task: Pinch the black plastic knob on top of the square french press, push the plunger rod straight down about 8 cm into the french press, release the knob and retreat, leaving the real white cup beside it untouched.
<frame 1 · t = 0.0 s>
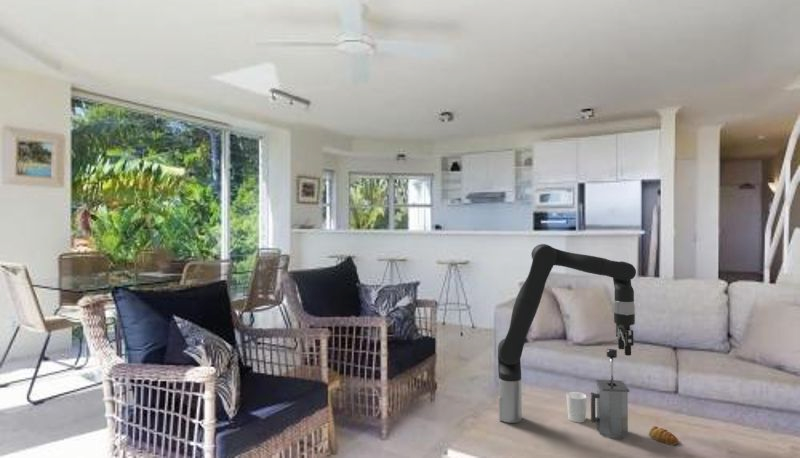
hand: (624, 352, 188), 29 cm above the table, fingers open, 8 cm apart
plunger: (611, 369, 181), point 25 cm above the table, slide at 0.0 cm
square french press: (612, 432, 182), on the table
white cup: (576, 419, 194), on the table
pastry: (662, 440, 176), on the table
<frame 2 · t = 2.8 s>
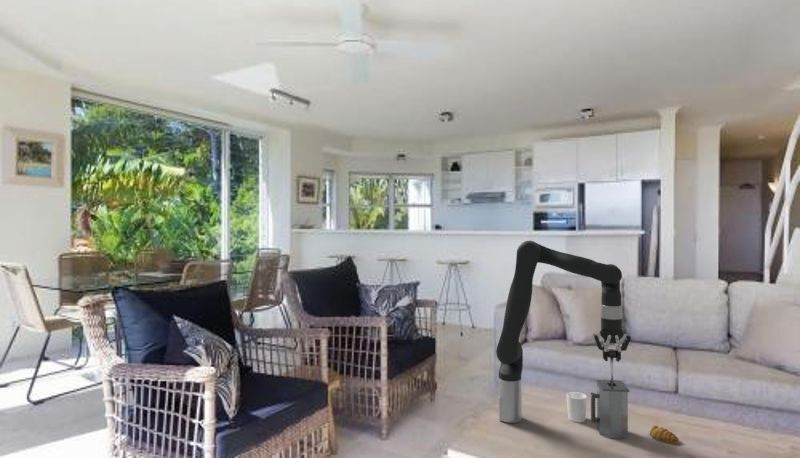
hand: (611, 360, 181), 28 cm above the table, fingers closed on plunger, 3 cm apart
plunger: (611, 370, 181), point 25 cm above the table, slide at 0.0 cm, touching gripper
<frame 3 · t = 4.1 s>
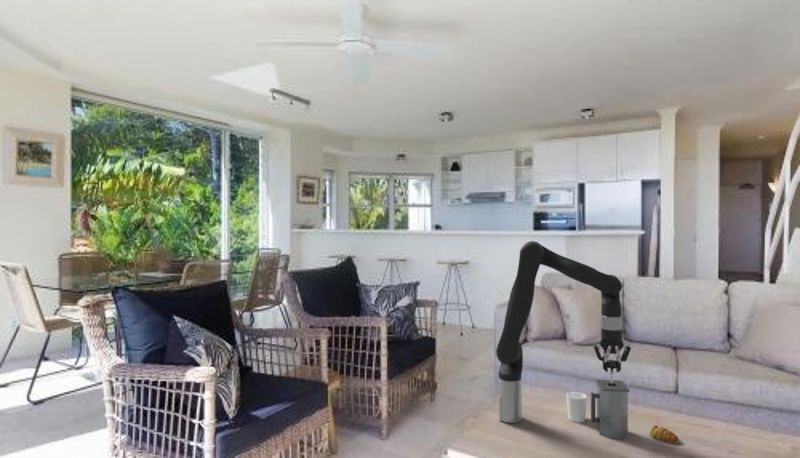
hand: (611, 371, 181), 24 cm above the table, fingers closed on plunger, 3 cm apart
plunger: (611, 380, 181), point 20 cm above the table, slide at 4.2 cm, touching gripper
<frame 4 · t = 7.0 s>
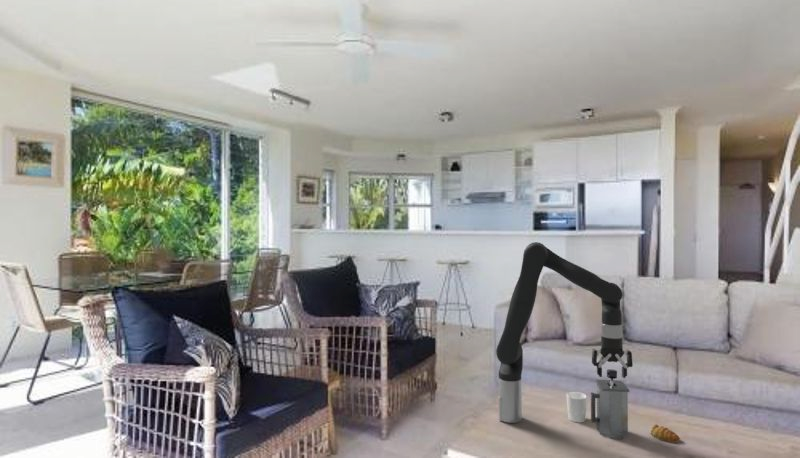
hand: (611, 376, 181), 22 cm above the table, fingers open, 8 cm apart
plunger: (612, 390, 181), point 17 cm above the table, slide at 8.0 cm
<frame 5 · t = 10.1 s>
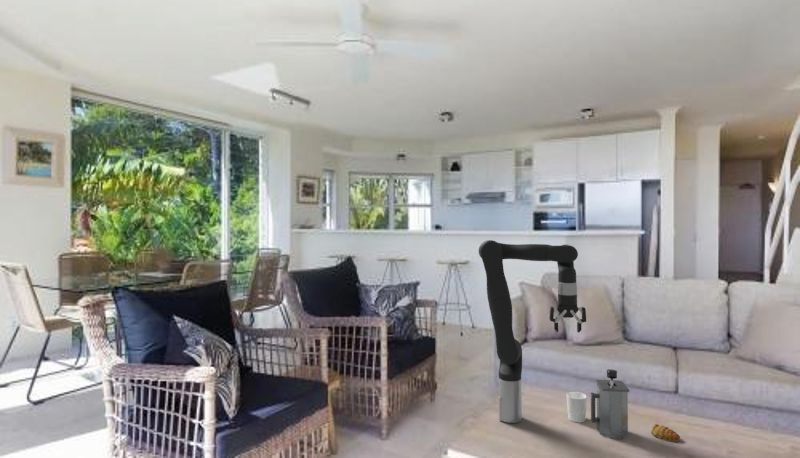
hand: (567, 331, 195), 36 cm above the table, fingers open, 8 cm apart
at the end: plunger slide at 8.0 cm; the gripper is holding nothing; white cup moved 0.2 cm from its start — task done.
